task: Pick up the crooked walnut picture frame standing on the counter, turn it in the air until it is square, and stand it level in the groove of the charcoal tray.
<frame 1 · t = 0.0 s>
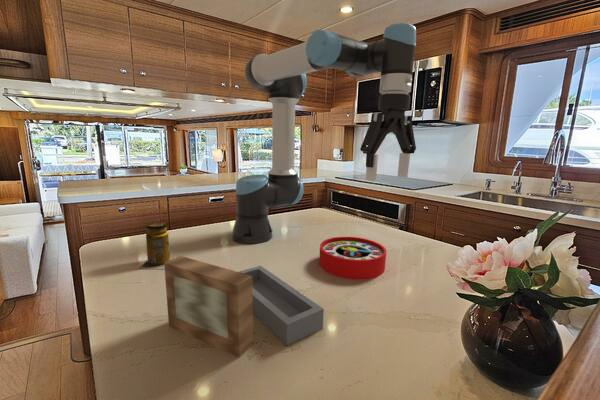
hand: (387, 178, 80), 28 cm above the countertop, tool pointing down, fingers open, 13 cm apart
toy clock: (351, 265, 94), on the countertop
charcoal tray: (271, 307, 69), on the countertop
walnut frame: (209, 335, 59), on the countertop
condiment: (157, 263, 91), on the countertop
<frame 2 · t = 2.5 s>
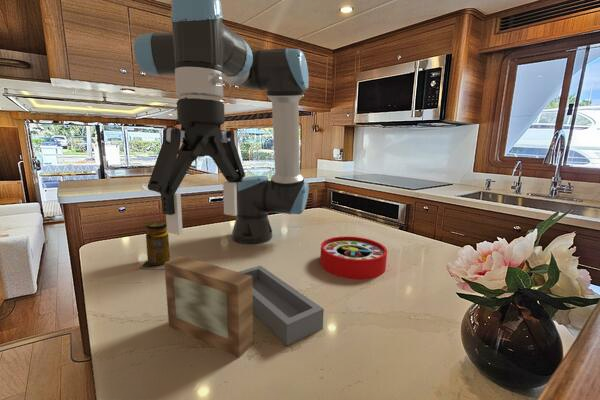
hand: (205, 223, 54), 23 cm above the countertop, tool pointing down, fingers open, 13 cm apart
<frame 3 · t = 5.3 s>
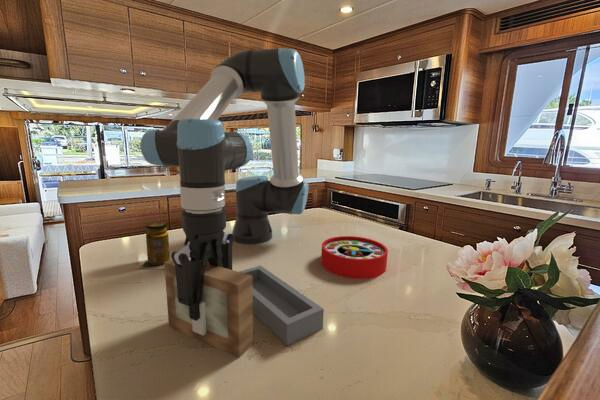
hand: (208, 324, 59), 2 cm above the countertop, tool pointing down, fingers closed on walnut frame, 4 cm apart
walnut frame: (209, 335, 59), on the countertop, touching gripper
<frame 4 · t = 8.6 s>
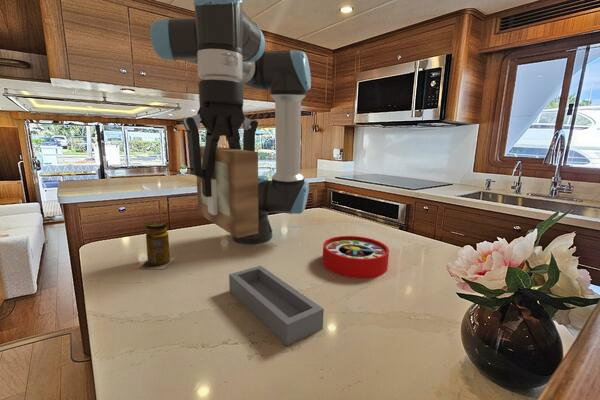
hand: (225, 211, 58), 24 cm above the countertop, tool pointing down, fingers closed on walnut frame, 4 cm apart
walnut frame: (225, 222, 58), point 22 cm above the countertop, touching gripper
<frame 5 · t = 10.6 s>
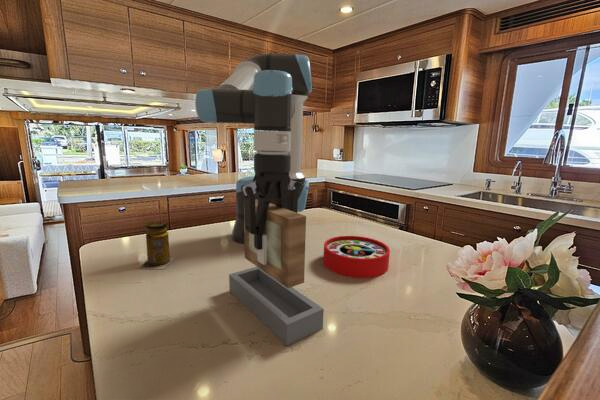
hand: (271, 259, 67), 12 cm above the countertop, tool pointing down, fingers closed on walnut frame, 4 cm apart
walnut frame: (271, 269, 67), point 9 cm above the countertop, touching gripper
when the fingers open (6 cm above the countertop, at t = 12.1 s): walnut frame drops 2 cm, resting on charcoal tray.
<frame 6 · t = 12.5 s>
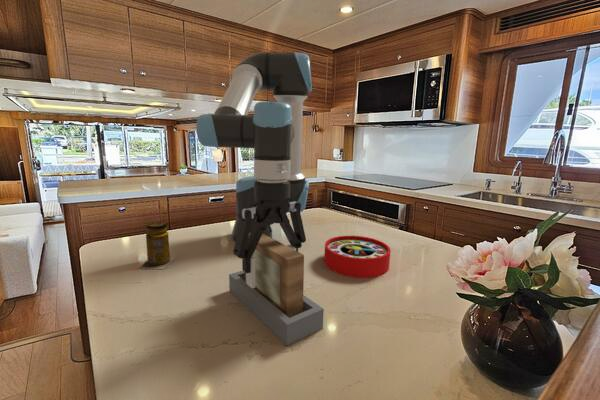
hand: (271, 278, 68), 7 cm above the countertop, tool pointing down, fingers open, 10 cm apart
walnut frame: (271, 301, 69), point 2 cm above the countertop, touching charcoal tray
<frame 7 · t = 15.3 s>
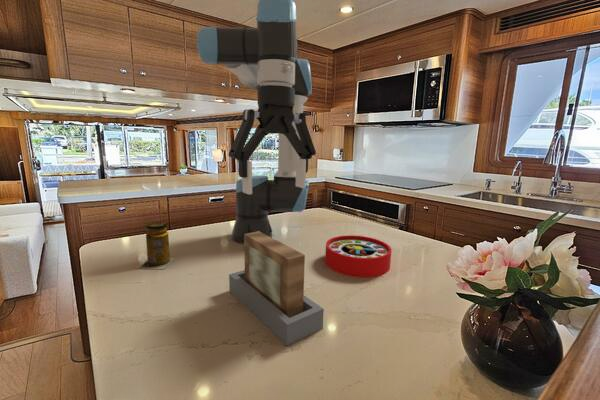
hand: (275, 190, 66), 27 cm above the countertop, tool pointing down, fingers open, 13 cm apart
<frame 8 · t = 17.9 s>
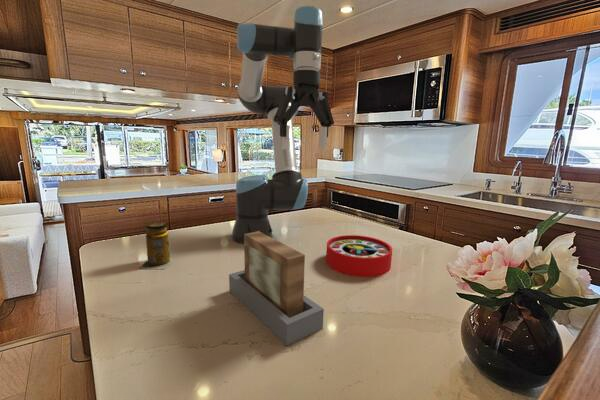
hand: (304, 149, 88), 35 cm above the countertop, tool pointing down, fingers open, 13 cm apart
at the end: walnut frame inside the target area on the charcoal tray (0.0 cm from its centre), point 1.5 cm above the charcoal tray's base; walnut frame tilted 0°; the gripper is holding nothing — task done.
